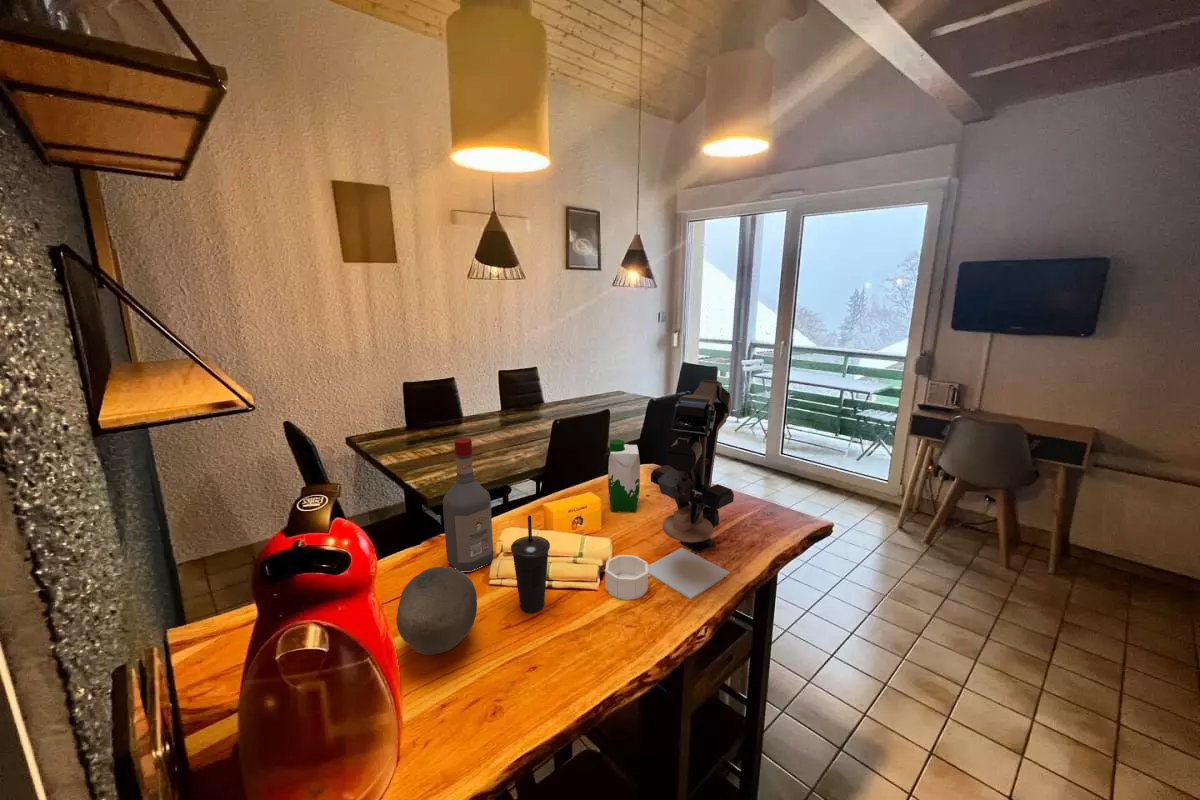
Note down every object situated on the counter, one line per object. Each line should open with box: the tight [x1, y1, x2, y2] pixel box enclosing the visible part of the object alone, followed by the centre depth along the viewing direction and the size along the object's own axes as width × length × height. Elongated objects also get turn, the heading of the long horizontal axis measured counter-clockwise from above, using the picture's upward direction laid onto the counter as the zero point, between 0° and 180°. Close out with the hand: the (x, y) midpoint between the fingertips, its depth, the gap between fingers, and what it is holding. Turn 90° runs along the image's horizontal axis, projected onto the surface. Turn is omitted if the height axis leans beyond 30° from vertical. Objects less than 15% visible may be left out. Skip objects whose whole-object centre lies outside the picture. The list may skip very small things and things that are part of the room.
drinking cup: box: [510, 515, 551, 614], centre depth 98 cm, size 8×8×20 cm
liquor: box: [442, 437, 494, 571], centre depth 112 cm, size 9×9×30 cm
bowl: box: [604, 554, 649, 601], centre depth 106 cm, size 9×9×5 cm
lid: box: [662, 504, 714, 542], centre depth 109 cm, size 11×11×5 cm
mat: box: [648, 547, 731, 600], centre depth 112 cm, size 14×14×1 cm
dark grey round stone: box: [395, 566, 478, 656], centre depth 87 cm, size 14×14×15 cm
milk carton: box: [607, 439, 641, 513], centre depth 141 cm, size 9×9×20 cm
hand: (688, 521), depth 109 cm, fingers closed on lid, 2 cm apart
